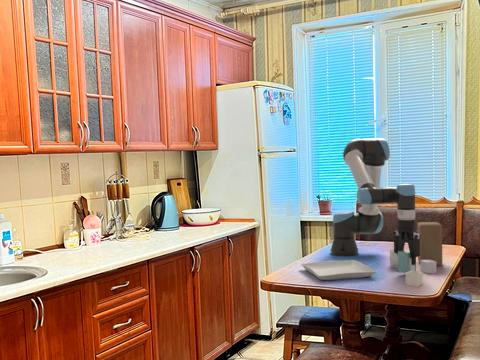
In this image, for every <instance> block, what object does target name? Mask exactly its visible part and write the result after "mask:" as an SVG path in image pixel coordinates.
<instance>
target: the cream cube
mask: <svg viewBox="0 0 480 360" xmlns="http://www.w3.org/2000/svg"><path fill="white" fill-rule="evenodd" d="M423 274H424V272H422V271H419V270H416V271H412V270H411V271H408V272H406V273H405V285H407V286H414V287H420V286H421V285H423V282H424V280H423V276H424V275H423Z"/></svg>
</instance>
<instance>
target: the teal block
mask: <svg viewBox="0 0 480 360" xmlns="http://www.w3.org/2000/svg"><path fill="white" fill-rule="evenodd" d="M410 257H411V255H410V251H409V249H404V250H402V251H398V269H397V272H399V273H403V274H406V272H408V271H409V258H410ZM415 271H417V264H416V265H415Z"/></svg>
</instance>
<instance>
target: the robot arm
mask: <svg viewBox="0 0 480 360" xmlns="http://www.w3.org/2000/svg"><path fill="white" fill-rule="evenodd" d="M390 156H391V152H390V146H389V144H388V141H387V140H386V139H385V138H377V137H376V138H375V137H374V138H372V137H371V138H355V139H353V140H351V141H349V142H348V143H347V144H346V145H345V147H344V149H343V152H342V158H343V161H344V164H346V165H347V166H348V167H349V168H348V169H349V170H350V172H351V175H352V177H353V179H354V182H355V183H356V186H357V188H358V189H357V190H356V201H357V202H358V204H359V205H361V206H360V207H359V208H358V212H355V211H354V210H342V211H338V212H336V213H334V214H333V217H332V224H333V225H332V227H333V230H332V231H333V233H332V234H333V240H332V245H331V248H330V254H331V255H334V256H339V257H340V256H342V257H345V256H348V257H350V256H357V255H359V248H358V244H357V242H356V235H373V234H379V233H380V232H381V231H382V229H383V227H384V215H383V214H382V212H381V210H380V209H379V205H387V204H390V205H391V204H395V205H397V206H396V207H397V210H396V211H397V215H396V217H397V228H398V229H397V230H395V231H394V230H393V231H392V235H393V249H394V253H396V254H397V255H398V251H402V250H405V244H406V243H407V245H408V250H409V251H410V255H411V257H410V258H409V271H411V270H412V271H415V265H416V266H417V258H418V257H419V256H420V237H421V235H420V234H418V232H417V233H416V230H415V228H416V190H415V189H416V187H415V184H413V183H399V184H397V186H391V187H380V186H381V175H382V174H381V173H382V167H384V166H385V163H386V161H389V159H390Z"/></svg>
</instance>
